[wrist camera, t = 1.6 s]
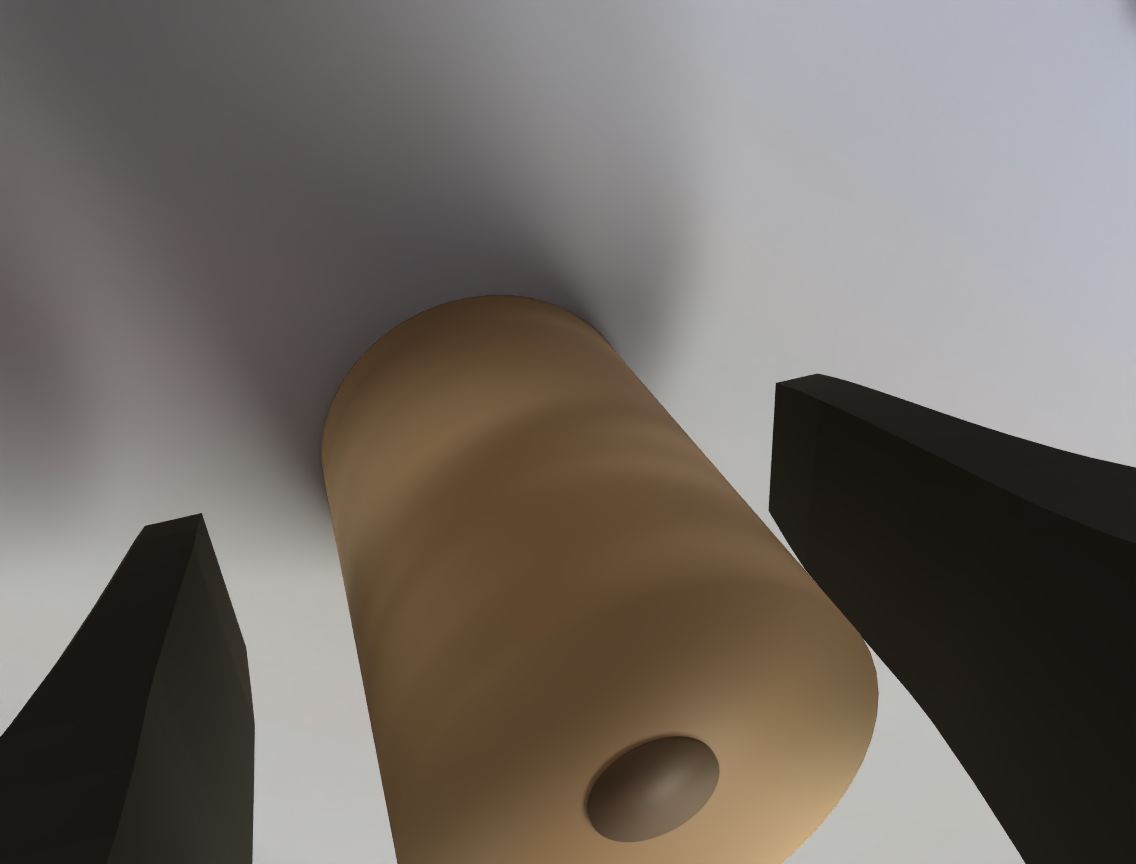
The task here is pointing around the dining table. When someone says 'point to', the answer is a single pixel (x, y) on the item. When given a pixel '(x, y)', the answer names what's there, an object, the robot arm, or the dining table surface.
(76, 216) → the dining table surface
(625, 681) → the oak bead
